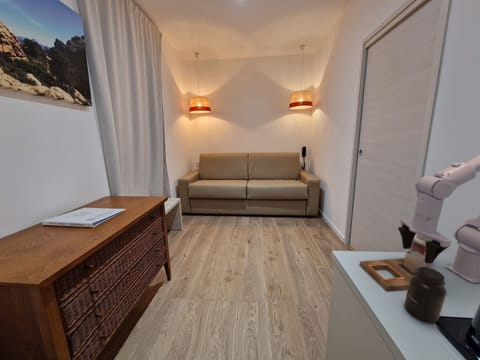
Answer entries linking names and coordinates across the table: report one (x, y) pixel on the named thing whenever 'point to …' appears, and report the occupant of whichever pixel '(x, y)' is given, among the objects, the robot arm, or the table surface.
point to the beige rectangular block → (414, 262)
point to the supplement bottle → (426, 295)
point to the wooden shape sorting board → (394, 268)
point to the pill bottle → (420, 244)
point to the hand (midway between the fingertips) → (417, 255)
